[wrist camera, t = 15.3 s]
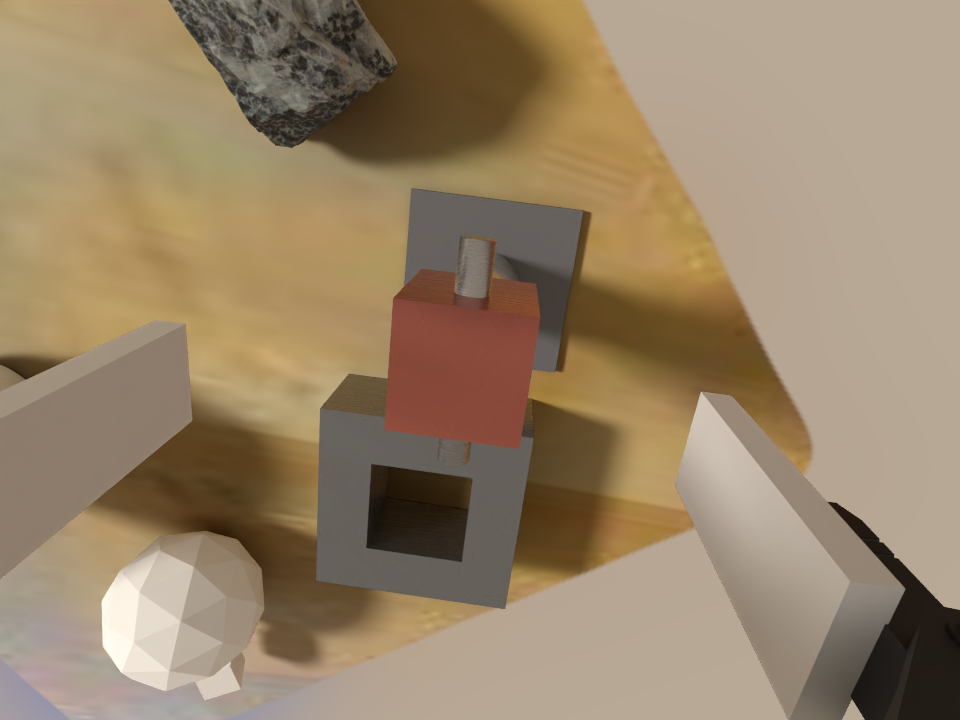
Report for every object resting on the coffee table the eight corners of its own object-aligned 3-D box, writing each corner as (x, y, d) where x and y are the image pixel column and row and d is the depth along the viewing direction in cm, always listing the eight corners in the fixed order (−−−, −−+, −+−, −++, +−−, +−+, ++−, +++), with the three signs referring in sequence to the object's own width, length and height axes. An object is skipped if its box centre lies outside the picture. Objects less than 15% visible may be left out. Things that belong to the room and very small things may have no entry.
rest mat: (412, 188, 29) (411, 189, 29) (582, 210, 29) (583, 210, 29) (400, 349, 32) (399, 351, 32) (554, 370, 32) (554, 372, 32)
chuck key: (453, 204, 29) (397, 237, 16) (537, 215, 29) (549, 256, 16) (439, 348, 32) (381, 478, 19) (515, 358, 32) (511, 496, 19)
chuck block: (348, 373, 33) (320, 408, 28) (532, 399, 33) (534, 438, 28) (342, 527, 37) (315, 580, 32) (507, 551, 37) (505, 608, 32)
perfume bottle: (105, 519, 36) (172, 644, 41) (42, 638, 28) (136, 776, 33) (246, 484, 37) (293, 609, 42) (225, 588, 29) (287, 727, 34)
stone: (56, 2, 18) (350, -8, 18) (139, -177, 22) (387, -192, 21) (208, 188, 27) (408, 188, 27) (250, 40, 31) (428, 35, 30)
